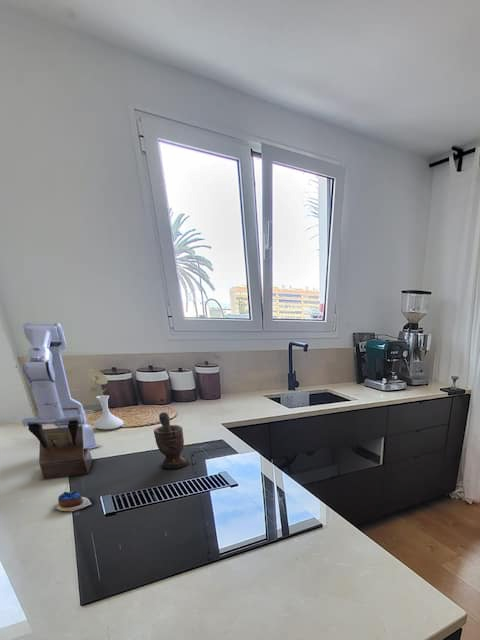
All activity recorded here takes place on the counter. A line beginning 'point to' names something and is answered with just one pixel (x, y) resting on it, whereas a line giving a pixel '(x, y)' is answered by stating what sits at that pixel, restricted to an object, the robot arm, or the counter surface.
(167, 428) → the mortar and pestle
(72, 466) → the storage box
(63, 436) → the box lid
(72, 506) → the dessert
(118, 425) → the flower in vase
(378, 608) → the counter surface
